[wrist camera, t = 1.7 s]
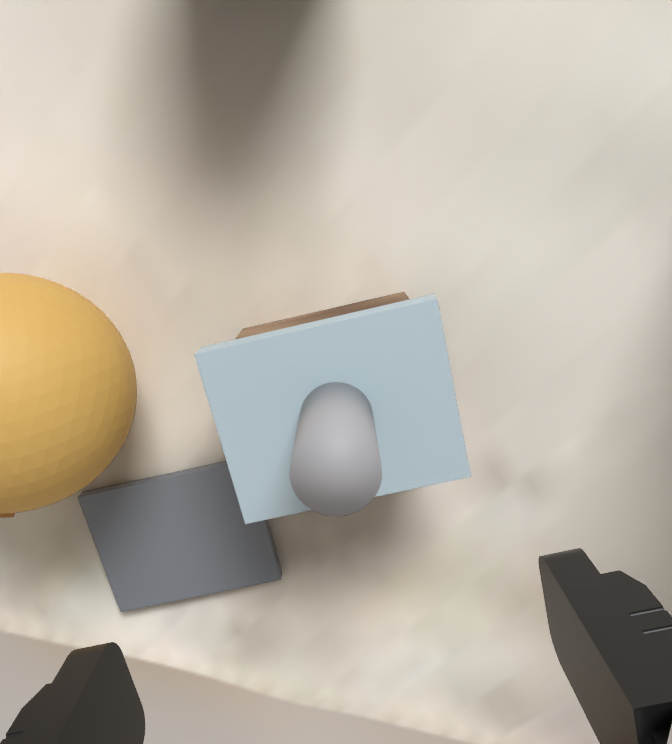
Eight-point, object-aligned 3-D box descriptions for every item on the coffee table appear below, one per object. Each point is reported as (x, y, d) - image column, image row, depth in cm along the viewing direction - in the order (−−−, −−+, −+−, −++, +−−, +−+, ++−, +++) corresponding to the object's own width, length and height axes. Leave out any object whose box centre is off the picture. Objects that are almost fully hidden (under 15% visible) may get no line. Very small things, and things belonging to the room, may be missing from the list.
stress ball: (140, 266, 30) (-103, 190, 23) (208, 401, 24) (-91, 356, 17) (61, 412, 34) (-169, 385, 27) (103, 561, 28) (-178, 577, 21)
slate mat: (248, 456, 32) (246, 461, 31) (282, 573, 34) (280, 579, 33) (82, 492, 32) (77, 497, 32) (124, 605, 34) (120, 612, 34)
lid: (428, 290, 25) (465, 325, 17) (460, 454, 26) (505, 547, 19) (206, 341, 25) (154, 396, 18) (252, 499, 27) (221, 604, 20)
